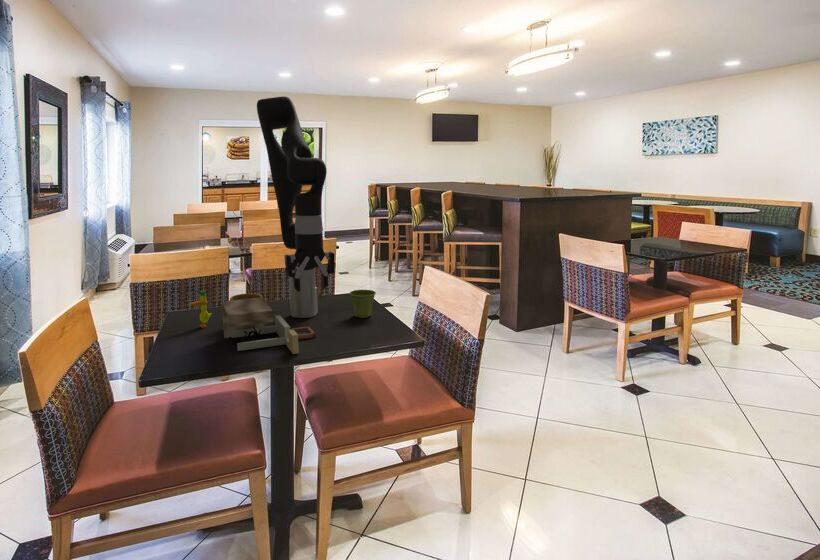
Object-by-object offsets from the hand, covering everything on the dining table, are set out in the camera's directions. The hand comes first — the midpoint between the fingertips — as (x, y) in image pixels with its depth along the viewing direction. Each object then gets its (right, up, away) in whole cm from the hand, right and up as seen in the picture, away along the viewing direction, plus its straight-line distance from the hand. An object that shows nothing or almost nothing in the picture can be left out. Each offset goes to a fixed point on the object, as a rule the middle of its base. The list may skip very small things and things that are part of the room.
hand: (311, 289), depth 142 cm
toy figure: (-41, -13, +24) cm, 49 cm away
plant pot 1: (-27, -13, +27) cm, 40 cm away
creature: (-21, -17, +8) cm, 28 cm away
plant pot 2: (+11, -10, +39) cm, 42 cm away
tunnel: (-21, -16, +9) cm, 28 cm away
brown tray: (-6, -15, +16) cm, 23 cm away
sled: (-15, -16, +6) cm, 23 cm away
